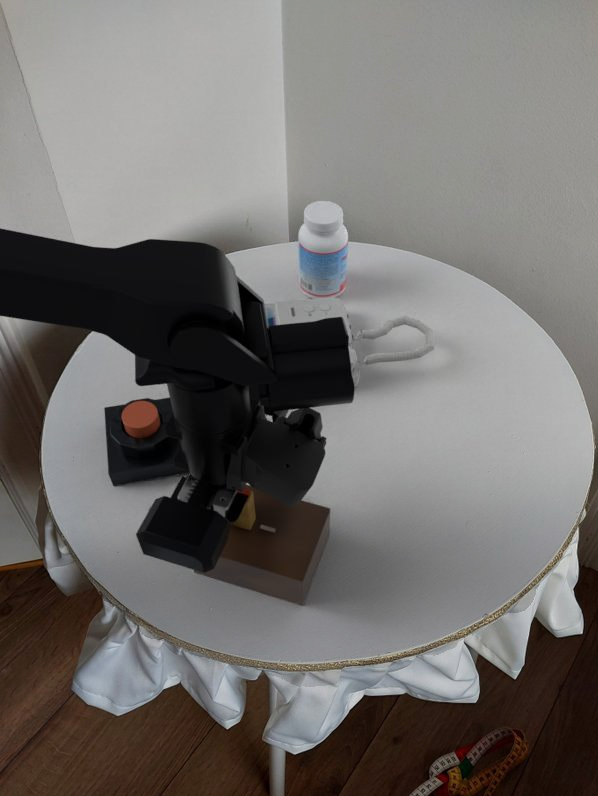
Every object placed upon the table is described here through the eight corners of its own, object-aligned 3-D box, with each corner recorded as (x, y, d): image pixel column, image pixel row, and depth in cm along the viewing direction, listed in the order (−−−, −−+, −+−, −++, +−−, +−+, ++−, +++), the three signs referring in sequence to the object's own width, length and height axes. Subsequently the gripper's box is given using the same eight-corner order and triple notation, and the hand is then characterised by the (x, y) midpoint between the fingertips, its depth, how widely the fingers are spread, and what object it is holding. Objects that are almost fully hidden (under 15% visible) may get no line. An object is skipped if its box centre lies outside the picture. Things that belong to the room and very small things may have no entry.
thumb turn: (204, 517, 67) (197, 488, 63) (210, 504, 68) (204, 475, 64) (250, 530, 66) (247, 502, 62) (256, 518, 67) (253, 490, 63)
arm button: (126, 441, 74) (122, 430, 72) (123, 414, 76) (120, 403, 74) (161, 435, 74) (159, 424, 73) (158, 409, 76) (156, 398, 75)
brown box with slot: (175, 566, 69) (167, 539, 65) (209, 500, 74) (203, 470, 70) (303, 606, 67) (302, 580, 63) (329, 535, 72) (330, 507, 68)
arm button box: (112, 486, 75) (104, 463, 71) (108, 420, 80) (100, 396, 77) (229, 466, 77) (225, 443, 73) (217, 403, 82) (213, 379, 79)
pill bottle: (351, 297, 93) (356, 223, 84) (306, 306, 92) (306, 231, 83) (337, 267, 97) (340, 193, 88) (293, 275, 95) (292, 201, 86)
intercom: (446, 355, 81) (222, 376, 78) (440, 382, 85) (226, 402, 82) (420, 278, 89) (216, 294, 86) (416, 305, 93) (219, 321, 90)
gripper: (268, 538, 47) (276, 633, 60) (351, 346, 58) (343, 460, 71) (114, 492, 49) (153, 594, 62) (222, 314, 60) (236, 431, 72)
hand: (229, 515), depth 66 cm, fingers closed, pressing on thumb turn
